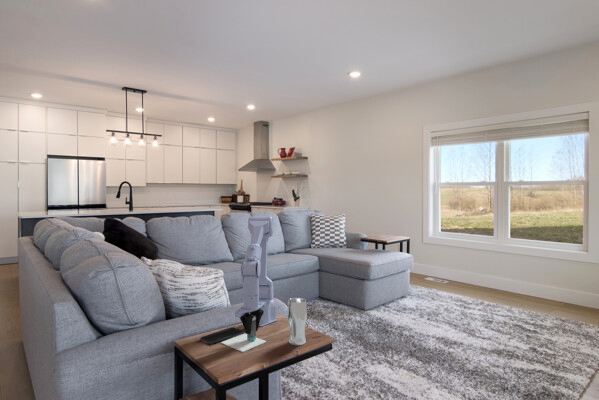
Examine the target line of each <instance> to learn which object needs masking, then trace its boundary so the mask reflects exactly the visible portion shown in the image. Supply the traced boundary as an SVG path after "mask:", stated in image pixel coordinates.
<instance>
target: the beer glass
mask: <svg viewBox="0 0 599 400" xmlns="http://www.w3.org/2000/svg"><path fill="white" fill-rule="evenodd" d="M307 308H308V307H307V299H306V298H304V297H291V298H289V299H288V300H287V312H286V313H287V320H288V327H289V339H288V343H289V344H290V345H293V346H302V345H305V344H306V341H307V340H306V339H307V338H306V333H305V330H306V325H307V318H308V317H307V316H308V309H307Z"/></svg>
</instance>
